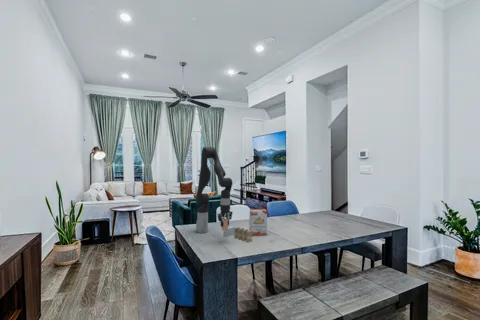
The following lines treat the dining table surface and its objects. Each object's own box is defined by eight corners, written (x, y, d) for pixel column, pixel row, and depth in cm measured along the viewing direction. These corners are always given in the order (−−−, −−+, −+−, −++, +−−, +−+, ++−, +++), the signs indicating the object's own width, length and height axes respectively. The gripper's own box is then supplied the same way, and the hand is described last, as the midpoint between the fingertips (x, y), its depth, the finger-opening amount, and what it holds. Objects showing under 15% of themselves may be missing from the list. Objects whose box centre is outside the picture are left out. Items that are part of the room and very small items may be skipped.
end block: (223, 235, 206) (223, 228, 206) (232, 233, 213) (232, 226, 213) (225, 236, 204) (225, 229, 204) (234, 234, 211) (234, 227, 211)
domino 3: (238, 239, 197) (238, 229, 197) (242, 238, 201) (242, 228, 201) (239, 239, 196) (239, 229, 196) (244, 238, 200) (244, 228, 200)
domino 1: (221, 230, 190) (221, 219, 190) (226, 228, 194) (226, 218, 194) (223, 230, 189) (223, 220, 189) (227, 229, 193) (228, 219, 193)
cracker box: (250, 236, 206) (251, 210, 207) (249, 234, 212) (249, 209, 213) (267, 235, 209) (267, 210, 209) (264, 233, 215) (265, 209, 215)
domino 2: (234, 238, 201) (234, 228, 201) (238, 236, 204) (238, 227, 204) (235, 238, 199) (235, 228, 200) (240, 237, 203) (240, 227, 203)
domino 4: (242, 240, 194) (242, 230, 194) (246, 239, 198) (246, 229, 198) (243, 241, 193) (243, 230, 193) (248, 239, 197) (248, 229, 197)
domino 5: (246, 241, 191) (246, 231, 191) (250, 240, 195) (250, 230, 195) (247, 242, 190) (248, 231, 190) (252, 241, 193) (252, 230, 194)
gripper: (221, 205, 184) (221, 228, 184) (235, 203, 194) (234, 225, 194) (214, 204, 189) (214, 226, 189) (228, 202, 199) (228, 223, 199)
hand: (224, 225), depth 191 cm, fingers closed on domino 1, 5 cm apart
